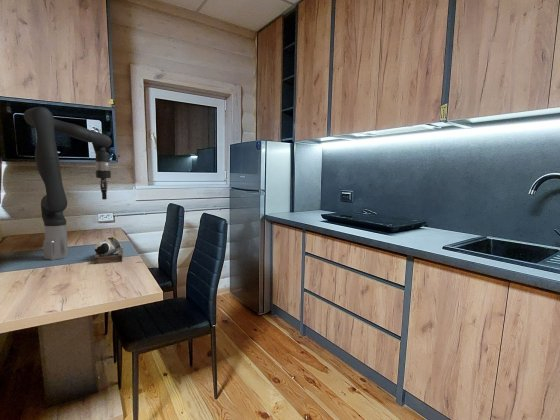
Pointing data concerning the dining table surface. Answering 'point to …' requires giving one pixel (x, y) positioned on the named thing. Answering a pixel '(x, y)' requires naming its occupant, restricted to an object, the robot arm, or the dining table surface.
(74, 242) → the dining table surface
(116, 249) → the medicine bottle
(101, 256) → the u rest
